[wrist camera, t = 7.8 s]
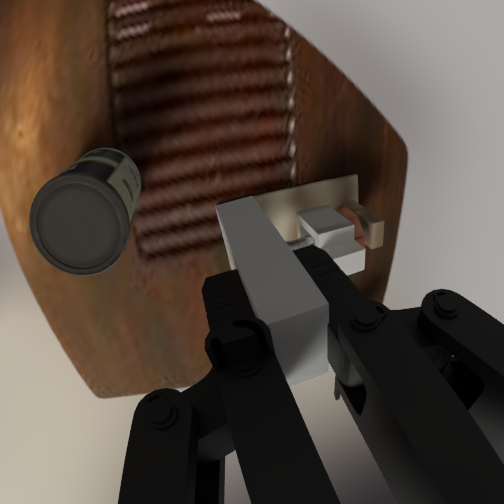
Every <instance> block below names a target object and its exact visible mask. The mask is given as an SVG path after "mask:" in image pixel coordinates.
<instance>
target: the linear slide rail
mask: <svg viewBox="0 0 504 504" xmlns="http://www.w3.org/2000/svg"><path fill="white" fill-rule="evenodd" d="M253 197H254V199H255V200H256V201H257V203H258V204H259V206H260V207H261V208H262V210H263V211H264V212H265V214H266V215H267V216H268V218H269V219H270V221H271V222H272V223H273V225H274V226H275V228H276V229H277V230H278V232H279V233H280V235H281V236H282V237H283V239H284V240H285V241H288V240H292V239H296V238H298V231H297V221H296V212H299V211H303V210H307V209H312V208H316V207H320V206H324V205H329V206H331V207H332V208H333V209H335V208H336V207H337V206H345V207H347V208H348V209H350V210H351V211H352V212H354V213H355V214H356V216H357V217H358V219H359V221H365V222H366V223H367V225H368V227H369V230H370V239H369V240H368V241H366V242H365V244H366V245H367V246H368V247H369V248H371V249H374V248H377V247H380V246H383V233H384V220H382V219H381V218H379V217H378V216H377V215H375V214H374V213H372V212H371V211H369V210H368V209H366V208H365V207H363V206H362V205H360V204H358V175H356V174H354V175H348V176H343V177H338V178H333V179H328V180H323V181H319V182H314V183H309V184H305V185H300V186H295V187H291V188H286V189H282V190H277V191H273V192H269V193H264V194H260V195H256V196H253ZM219 205H220V204H219ZM227 254H228V253H227ZM228 258H229V257H228ZM229 262H230V260H229ZM230 267H231V270H233V269H232V266H231V264H230Z"/></svg>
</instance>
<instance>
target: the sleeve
mask: <svg viewBox="0 0 504 504" xmlns="http://www.w3.org/2000/svg"><path fill="white" fill-rule="evenodd" d="M296 221H297V231H298V238H300V237H303V236H307V235H311V236H312V237H313V238H314V239H315V246H317V247H319V248H321V249H323V250H325V251H326V252H327V253H328V254H329V255H330V256H331V258H332V259H333V260H334V262H336V263H337V265H338V266H339V267H340V269H341V270H342V271H343V272H344V273H345V274H346V275H350V274H353V273H356V272H359V271H362V270H364V265H365V248H363V247H362V246H361V245H360V244H359V243H358V242H356V241H355V240H354V228H355V225H354V224H353V223H352V222H350V221H349V220H348V219H346V218H345V217H344V216H342V215H341V214H340V213H339V212H337V211H336V210H335V209H333V208H332V207H331V206H329V205H324V206H320V207H316V208H312V209H307V210H303V211H299V212H296Z"/></svg>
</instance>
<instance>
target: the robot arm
mask: <svg viewBox="0 0 504 504" xmlns="http://www.w3.org/2000/svg"><path fill="white" fill-rule="evenodd" d="M215 208H216V211H217V215H218V219H219V223H220V227H221V230H222V234H223V238H224V242H225V245H226V249H227V253H228V257H229V260H230V264H231V266H232V269H233V270H230V271H227V272H224V273H220V274H217V275H214V276H210V277H207V278H206V279H205V282H204V285H203V287H202V294H203V299H204V303H205V309H206V313H207V319H208V324H209V328H210V332H209V333H208V335H207V337H206V339H205V351H206V353H207V355H208V357H209V359H210V361H211V363H212V365H213V366H212V368H211V370H210V372H209V373H208V374H207V375H206V376H205V377H204V378H203V379H202V380H201V381H199V382H198V383H197V384H195V385H193V386H191V387H190V388H188V389H186V390H184V391H183V392H179V391H178V390H175V389H168V388H164V389H159V390H155V391H153V392H151V393H149V394H147V395H146V396H145V397H144V398H143V399H142V400H141V401H140V402H139V403H138V405H137V407H136V410H135V412H134V416H133V420H132V425H131V430H130V436H129V441H128V446H127V451H126V456H125V462H124V468H123V474H122V480H121V487H120V493H119V500H118V504H224V485H225V481H224V480H225V456H226V455H228V454H230V453H231V452H233V451H234V450H236V453H237V457H238V460H239V464H240V467H241V471H242V474H243V478H244V481H245V484H246V488H247V491H248V494H249V497H250V500H251V504H341V503H340V501H339V499H338V497H337V495H336V492H335V490H334V488H333V486H332V483H331V481H330V479H329V477H328V474H327V472H326V470H325V468H324V466H323V463H322V461H321V459H320V456H319V454H318V452H317V450H316V447H315V445H314V443H313V441H312V438H311V436H310V434H309V431H308V429H307V427H306V425H305V422H304V420H303V418H302V415H301V413H300V411H299V408H298V406H297V404H296V401H295V399H294V397H293V394H292V392H291V390H290V387H289V386H292V385H294V384H297V383H300V382H303V381H306V380H308V379H311V378H314V377H316V376H319V375H321V374H324V373H326V372H328V368H329V363H330V365H331V367H332V368H333V370H334V372H335V373H336V376H335V390H334V395H335V399H336V400H338V399H339V398H340V394H341V396H342V398H343V400H344V402H345V404H346V406H347V407H348V409H349V411H350V413H351V415H352V417H353V419H354V421H355V423H356V424H357V426H358V428H359V430H360V432H361V434H362V436H363V438H364V440H365V442H366V443H367V445H368V447H369V449H370V451H371V453H372V455H373V457H374V459H375V461H376V463H377V464H378V466H379V468H380V470H381V472H382V474H383V476H384V478H385V480H386V482H387V484H388V486H389V488H390V489H391V491H392V493H393V495H394V497H395V499H396V501H397V503H398V504H504V324H502V323H501V322H499V321H498V320H497V319H495V318H494V317H492V316H491V315H489V314H488V313H487V312H485V311H484V310H482V309H481V308H479V307H477V306H476V305H475V304H473V303H472V302H470V301H469V300H467V299H466V298H464V297H463V296H461V295H460V294H458V293H455V292H453V291H451V290H445V289H438V290H433V291H431V292H430V293H428V294H426V296H425V297H424V299H423V301H422V304H421V307H415V308H409V309H402V310H389V309H388V308H387V307H386V306H385V305H383V304H382V303H379V302H376V301H374V300H367V299H366V298H365V297H364V296H363V294H362V293H361V292H360V291H359V290H358V288H357V287H356V286H355V285H354V284H353V282H352V281H351V280H350V279H349V278H348V276H347V275H346V274H345V273H344V272H343V271H342V270H341V269H340V267H339V266H338V265H337V263H336V262H334V260H333V259H332V258H331V256H330V255H329V254H328V253H327V252H326V251H325V250H323V249H321V248H319V247H317V246H315V245H313V244H312V245H309V246H306V247H303V248H299V249H296V250H293V251H292V250H291V249H290V247H289V246H288V244H287V243H286V241H285V240H284V239H283V237H282V236H281V235H280V233H279V232H278V230H277V229H276V228H275V226H274V225H273V223H272V222H271V221H270V219H269V218H268V216H267V215H266V214H265V212H264V211H263V210H262V208H261V207H260V206H259V204H258V203H257V201H256V200H255V199H254V197H253V196H249V197H245V198H242V199H238V200H234V201H231V202H227V203H223V204H220V205H216V206H215ZM452 355H453V356H454V357H453V356H452Z"/></svg>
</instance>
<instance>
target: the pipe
mask: <svg viewBox="0 0 504 504" xmlns="http://www.w3.org/2000/svg"><path fill="white" fill-rule="evenodd" d="M360 224H361V226H362V229H363V232H364V234H365V235H364V237H365V242H366V241H368V240H369V239H370V230H369V227H368V225H367V223H366V222H365V221H360ZM286 243H287V244H288V246H289V247H290V249H291V250H292V251H293V250H296V249H299V248H303V247H306V246H309V245H312V244H313V245H315V239H314V238H313V237H312V236H311V235H307V236H303V237H300V238H296V239H292V240H288V241H286Z"/></svg>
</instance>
